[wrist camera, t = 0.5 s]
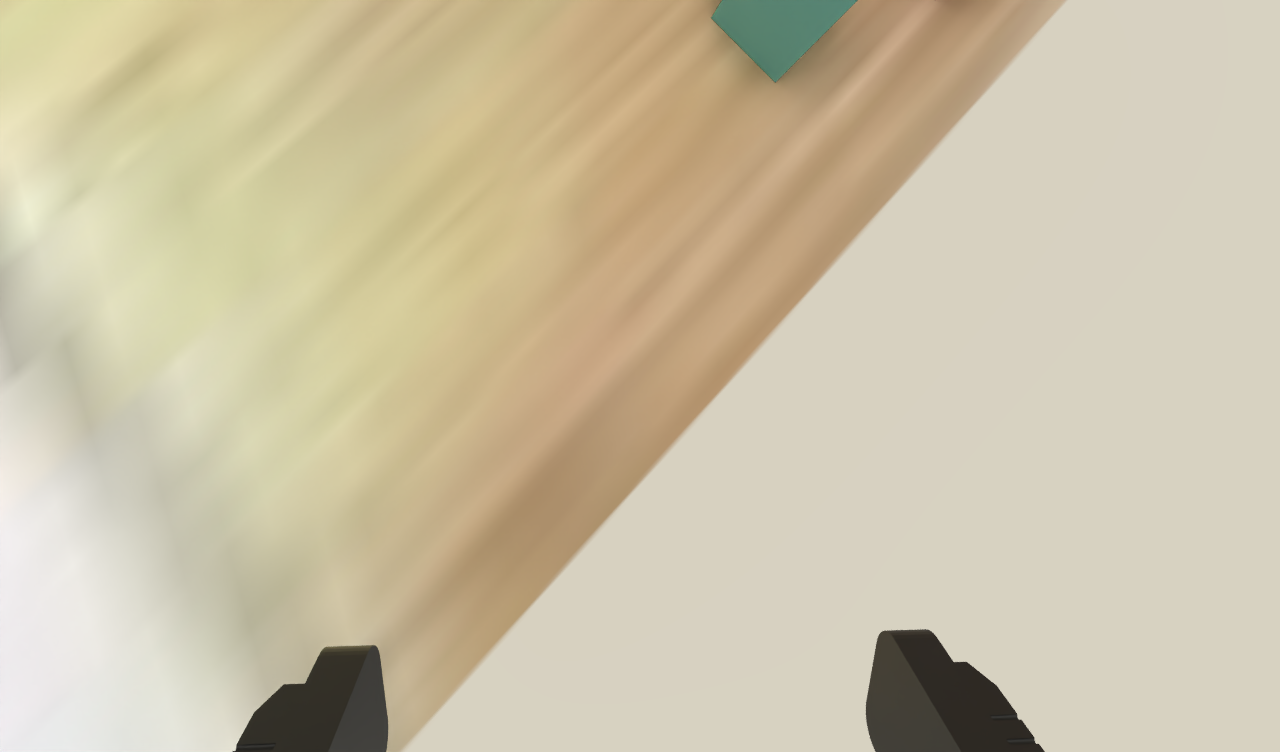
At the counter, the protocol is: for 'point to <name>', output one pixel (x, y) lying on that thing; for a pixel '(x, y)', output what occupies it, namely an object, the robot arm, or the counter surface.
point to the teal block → (777, 28)
